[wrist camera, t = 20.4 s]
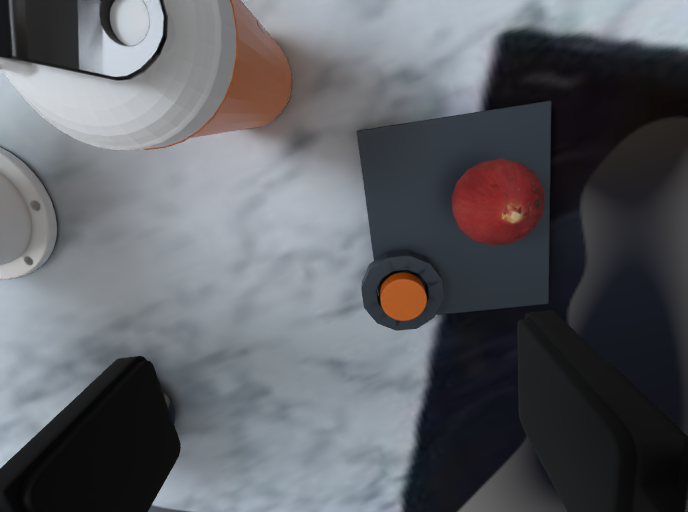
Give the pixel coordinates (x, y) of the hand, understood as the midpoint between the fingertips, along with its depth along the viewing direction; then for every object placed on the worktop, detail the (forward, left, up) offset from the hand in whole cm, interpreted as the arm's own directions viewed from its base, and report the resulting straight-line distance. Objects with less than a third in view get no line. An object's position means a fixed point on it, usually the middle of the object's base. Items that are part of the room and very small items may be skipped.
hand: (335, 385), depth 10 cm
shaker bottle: (-8, +11, -24) cm, 28 cm away
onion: (+9, 0, -23) cm, 24 cm away
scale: (+7, -2, -24) cm, 25 cm away
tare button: (+3, -7, -21) cm, 22 cm away
